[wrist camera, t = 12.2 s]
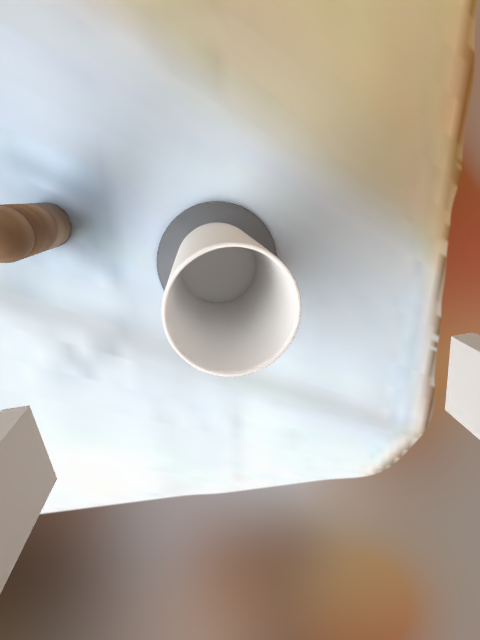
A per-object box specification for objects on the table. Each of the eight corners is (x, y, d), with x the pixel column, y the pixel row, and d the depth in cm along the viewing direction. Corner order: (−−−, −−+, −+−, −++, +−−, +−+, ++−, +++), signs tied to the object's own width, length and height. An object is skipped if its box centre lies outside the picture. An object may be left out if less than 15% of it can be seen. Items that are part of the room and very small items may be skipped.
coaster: (145, 211, 34) (144, 211, 34) (269, 193, 35) (270, 193, 34) (170, 328, 38) (170, 330, 38) (281, 309, 39) (282, 311, 38)
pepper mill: (19, 206, 33) (-57, 210, 23) (64, 199, 33) (7, 201, 23) (34, 249, 34) (-33, 271, 24) (76, 243, 34) (28, 262, 24)
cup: (269, 236, 36) (322, 266, 21) (244, 313, 38) (275, 389, 23) (188, 210, 34) (182, 222, 19) (167, 292, 36) (146, 360, 21)
